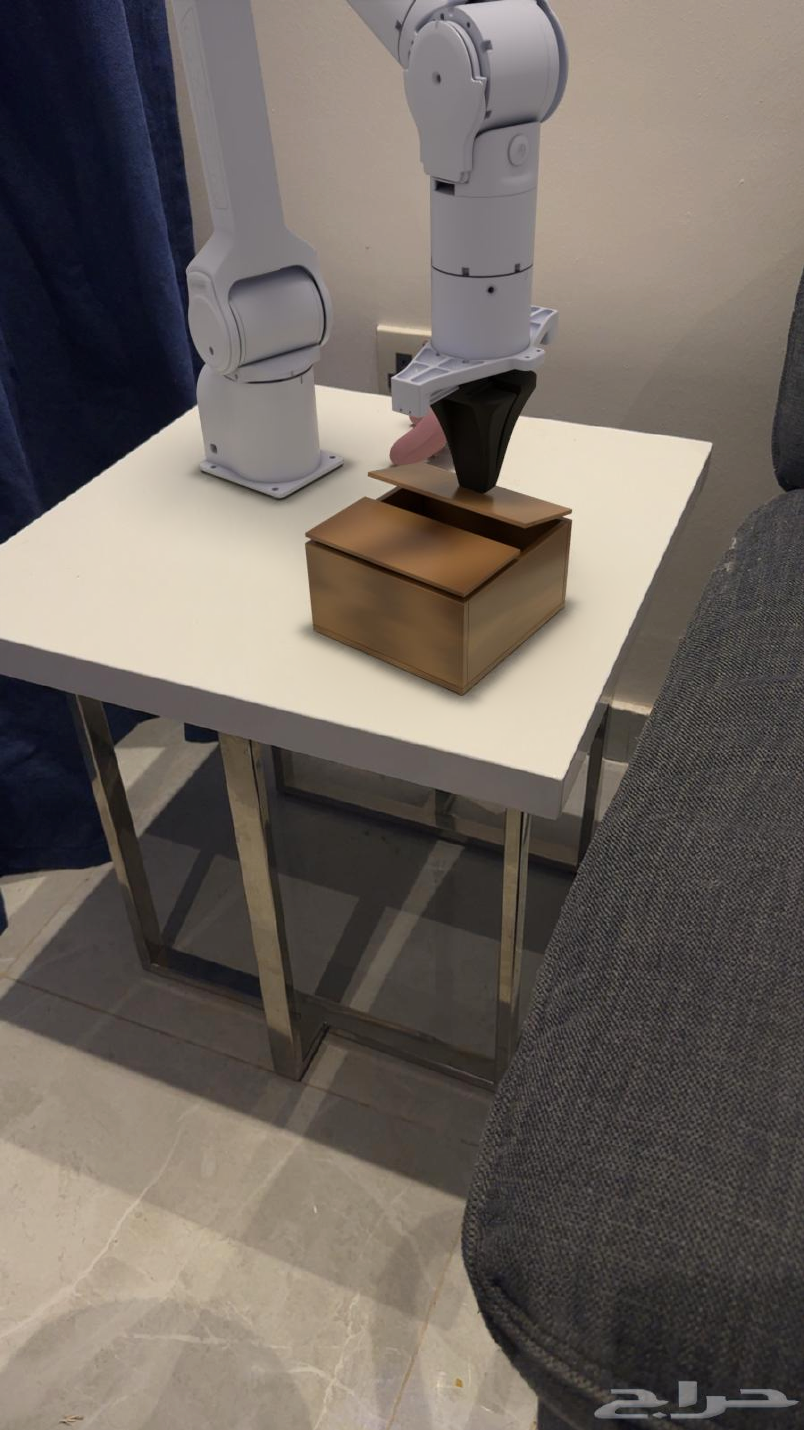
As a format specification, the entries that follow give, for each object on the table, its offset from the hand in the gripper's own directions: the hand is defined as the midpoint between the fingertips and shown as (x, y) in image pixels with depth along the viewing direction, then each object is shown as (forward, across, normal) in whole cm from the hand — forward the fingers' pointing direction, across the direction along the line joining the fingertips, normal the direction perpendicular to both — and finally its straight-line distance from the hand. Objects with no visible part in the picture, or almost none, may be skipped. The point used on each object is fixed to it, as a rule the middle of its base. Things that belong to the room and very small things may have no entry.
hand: (477, 486), depth 66 cm
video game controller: (+8, +17, +16) cm, 25 cm away
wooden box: (+8, -4, 0) cm, 9 cm away
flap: (0, -1, 0) cm, 1 cm away
